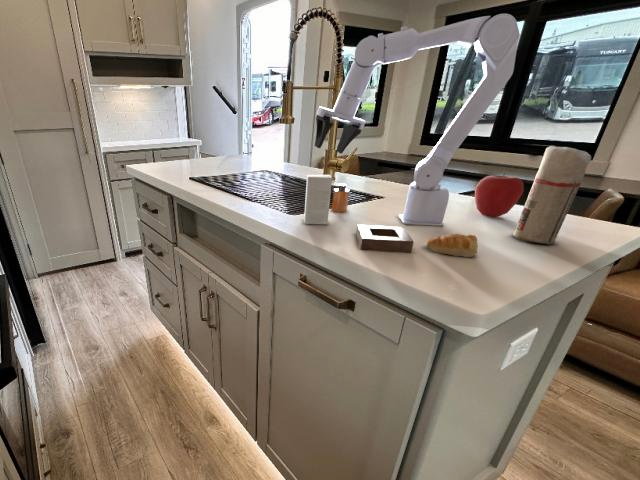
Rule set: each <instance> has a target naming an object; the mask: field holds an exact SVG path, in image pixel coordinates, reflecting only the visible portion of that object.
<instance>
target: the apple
mask: <svg viewBox="0 0 640 480" xmlns="http://www.w3.org/2000/svg"><path fill="white" fill-rule="evenodd" d="M524 188H525V187H524V182H523V181H522V179H521V178H520V177H515V176H507V175H506V173H505V172H504V174H503V175H487V176H485V177H483V178H481V179H480V180H479V182H478V183H477V185H476V186H475V189H474V201H475V205H476V209H477V210H478V212H479V213H480V214H481V215H482V216H485V217H488V218H499V217H501V216H504V215H506V214H508V213H509V212H510V211H511V209H513V207H514V206H515V205H516V204H517V203H518V202H519V200H520V198H521V196H522V195H523V193H524V191H525V190H524Z"/></svg>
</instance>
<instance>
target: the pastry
mask: <svg viewBox="0 0 640 480" xmlns="http://www.w3.org/2000/svg"><path fill="white" fill-rule="evenodd" d="M425 247H426V248H428V249H429V250H430V251H432V252H434V253H437V254H444V255H449V256H454V257H460V256H461V257H464V258H470V257H475V255H477V254H478V251H479V248H478V247H479V244H478V238H477V236H476V235H475V234H473V235H472V234H468V235H467V234H463V233H451V234H445V235H438V236H434V237H431V238H429V239H428V240H427V241H426V243H425Z"/></svg>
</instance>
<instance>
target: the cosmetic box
mask: <svg viewBox="0 0 640 480" xmlns="http://www.w3.org/2000/svg"><path fill="white" fill-rule="evenodd" d="M332 183H333V177H332V176H331V174H306V184H305V185H306V187H305V201H304V215H303V221H304V225H328V222H329V213H330V212H329V211H330V203H331V194H332V185H333V184H332Z"/></svg>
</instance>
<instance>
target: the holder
mask: <svg viewBox="0 0 640 480" xmlns="http://www.w3.org/2000/svg"><path fill="white" fill-rule="evenodd" d="M355 235H356V239H357V242H358V245H359V248H360V250H365V251H379V252H397V253H398V252H399V253H412V251H413V247H414V243H415V242H414V239H413V238H412V237H411V235H410V234H409V232H408V231H407V230H406V228H405V227H404V226H393V225H390V226H389V225H373V224H372V225H371V224H370V225H368V224H357V227H356V232H355Z"/></svg>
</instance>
